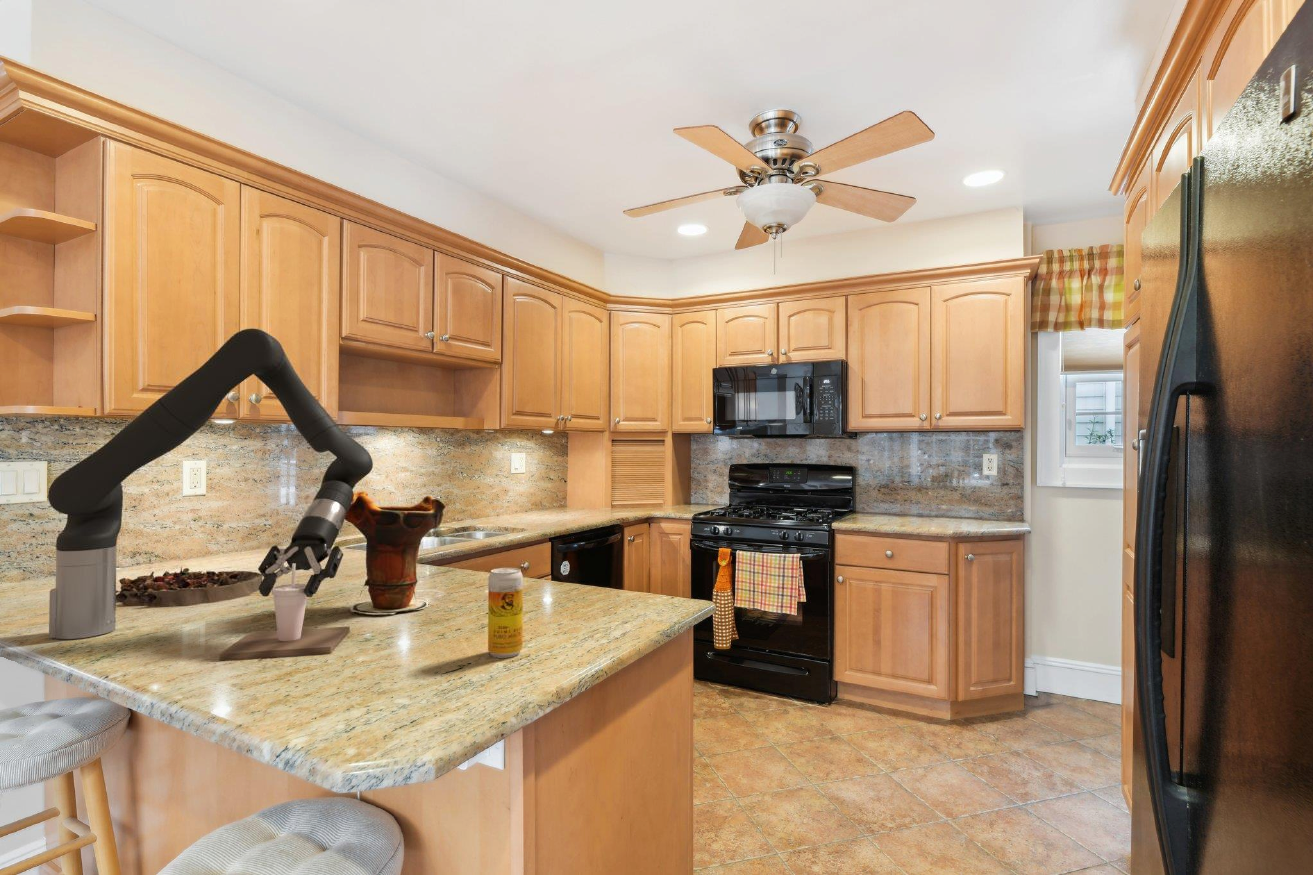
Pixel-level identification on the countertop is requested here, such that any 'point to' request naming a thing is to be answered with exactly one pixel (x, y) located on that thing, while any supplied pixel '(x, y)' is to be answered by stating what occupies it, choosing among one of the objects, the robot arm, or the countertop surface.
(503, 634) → the beer can
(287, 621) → the smoothie
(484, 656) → the countertop surface
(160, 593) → the food dish
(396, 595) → the decorative vase
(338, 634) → the walnut board
